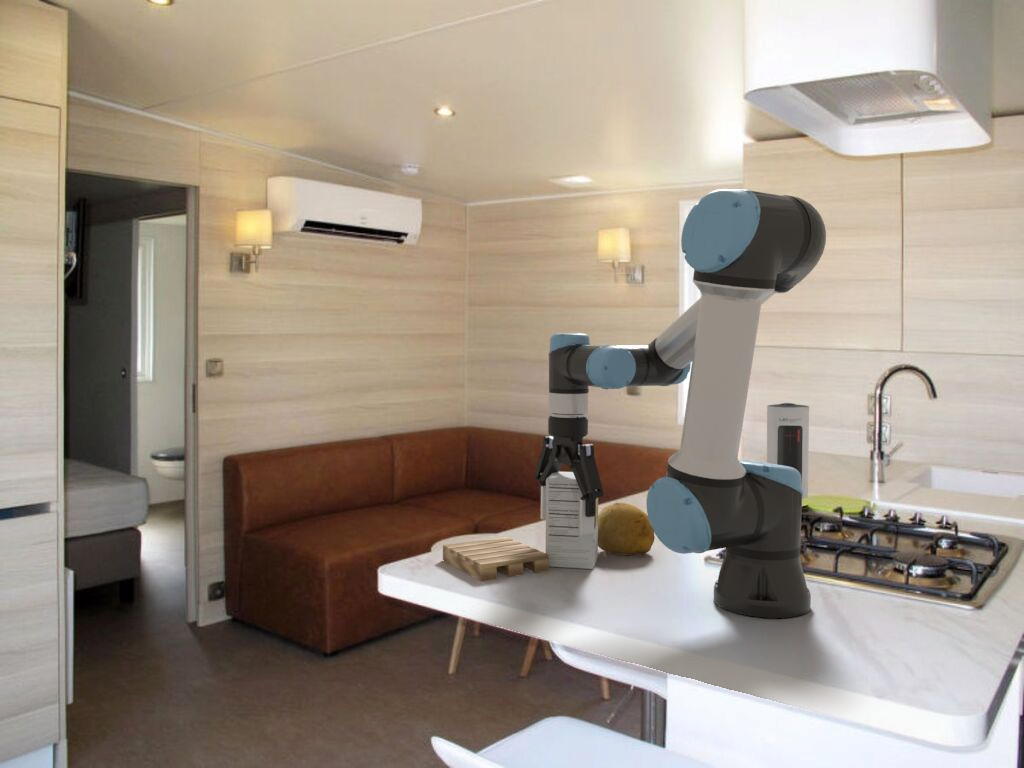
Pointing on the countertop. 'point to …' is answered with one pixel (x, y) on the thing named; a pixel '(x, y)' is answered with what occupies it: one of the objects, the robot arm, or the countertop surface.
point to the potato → (624, 530)
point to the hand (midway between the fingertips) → (566, 525)
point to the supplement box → (568, 524)
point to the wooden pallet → (495, 558)
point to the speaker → (789, 438)
